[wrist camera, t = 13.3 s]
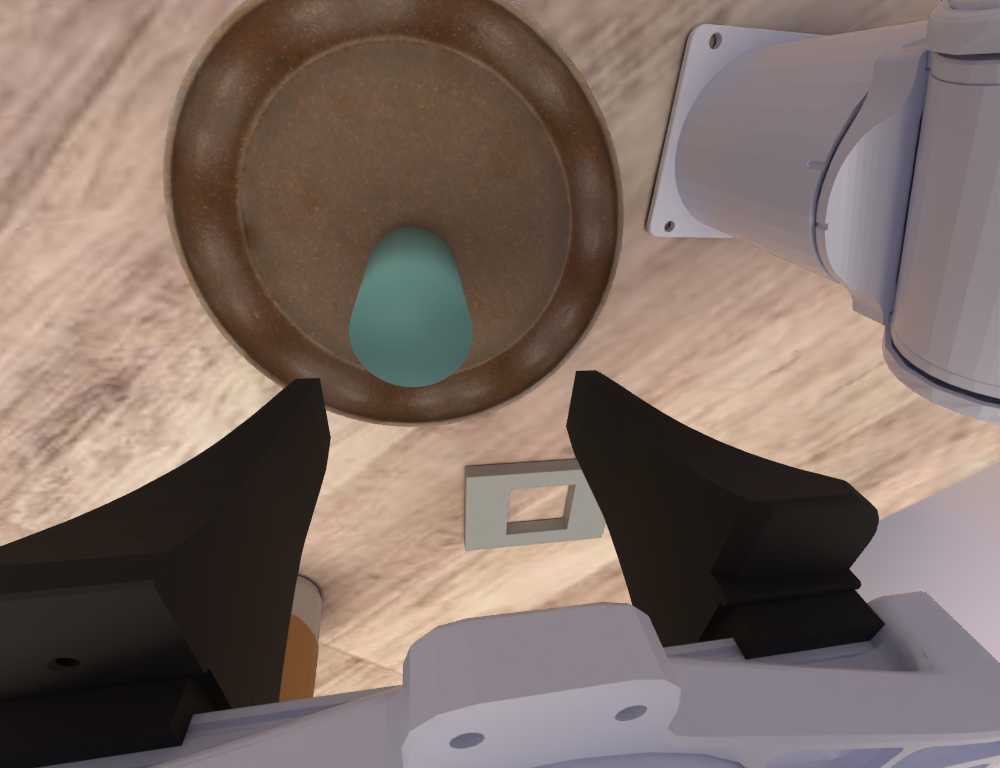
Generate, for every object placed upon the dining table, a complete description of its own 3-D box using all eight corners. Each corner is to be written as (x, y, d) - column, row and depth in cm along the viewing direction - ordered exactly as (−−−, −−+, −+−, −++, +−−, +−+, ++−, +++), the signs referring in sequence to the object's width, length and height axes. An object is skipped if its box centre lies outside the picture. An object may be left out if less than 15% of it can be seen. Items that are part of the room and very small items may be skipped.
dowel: (474, 262, 18) (496, 321, 13) (425, 328, 20) (429, 404, 15) (398, 207, 17) (391, 250, 12) (351, 282, 18) (326, 350, 13)
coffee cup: (195, 616, 32) (52, 949, 19) (237, 547, 29) (98, 889, 16) (310, 637, 35) (250, 931, 23) (357, 577, 32) (319, 879, 20)
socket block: (614, 456, 30) (620, 466, 29) (596, 526, 33) (601, 537, 32) (465, 466, 28) (466, 477, 27) (464, 539, 32) (465, 550, 31)
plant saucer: (142, 295, 20) (102, 324, 17) (299, -177, 13) (271, -241, 11) (470, 438, 27) (475, 473, 25) (674, 178, 21) (710, 189, 18)
